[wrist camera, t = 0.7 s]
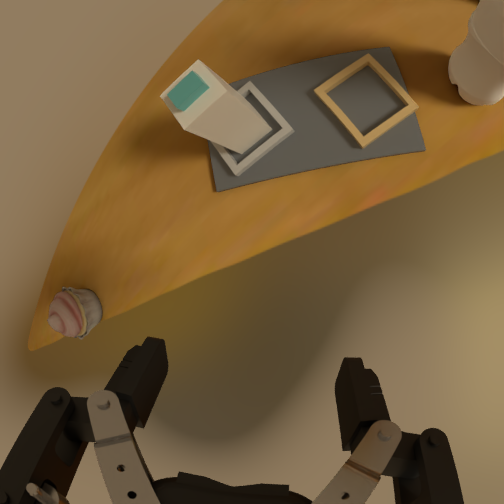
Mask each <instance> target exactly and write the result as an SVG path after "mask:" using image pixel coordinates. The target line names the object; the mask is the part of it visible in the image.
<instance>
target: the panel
mask: <svg viewBox="0 0 504 504" xmlns="http://www.w3.org/2000/svg"><path fill="white" fill-rule="evenodd" d="M229 85H230V86H231V87H232V88H234V89H235V90H236V91H237V92H238V93H239V94H240V95H242V96H243V97H244V98H245V99H246V100H247V101H248V102H249V103H250V104H251V105H252V106H253V107H254V108H255V109H256V111H257V112H258V113H259V114H260V115H261V116H262V118H263V119H264V120H265V121H266V122H267V124H268V125H269V126H270V127H271V128H272V130H271V131H270V132H269V133H267V134H266V135H265V136H264V137H262V138H261V139H260V140H259V141H258V142H256V143H255V144H254V145H253V146H251V147H250V148H249V149H248V150H247V151H245V152H244V153H243V154H240V153H238V152H235V151H233V150H231V149H229V148H226V147H224V146H222V145H219V144H217V143H215V142H212V141H210V140H208V139H207V140H208V145H209V151H210V157H211V163H212V168H213V174H214V179H215V185H216V190H217V192H221V191H225V190H229V189H233V188H237V187H241V186H245V185H249V184H253V183H257V182H261V181H265V180H270V179H274V178H278V177H283V176H287V175H292V174H296V173H301V172H306V171H311V170H315V169H320V168H325V167H330V166H336V165H341V164H346V163H352V162H357V161H363V160H369V159H375V158H381V157H387V156H394V155H400V154H407V153H414V152H422V151H425V150H426V149H425V145H424V141H423V138H422V134H421V131H420V127H419V124H418V121H417V117H416V114H415V111H416V110H417V109H418V108H419V106H418V105H417V104H416V103H415V102H414V100H413V99H412V98H411V97H410V96H409V94H408V91H407V88H406V86H405V83H404V80H403V78H402V75H401V73H400V70H399V68H398V65H397V63H396V61H395V58H394V56H393V54H392V52H391V49H390V47H383V48H375V49H367V50H360V51H354V52H348V53H342V54H337V55H332V56H327V57H322V58H317V59H313V60H308V61H304V62H300V63H296V64H292V65H288V66H285V67H281V68H277V69H274V70H270V71H267V72H264V73H260V74H257V75H254V76H251V77H248V78H245V79H242V80H239V81H236V82H233V83H230V84H229Z"/></svg>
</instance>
